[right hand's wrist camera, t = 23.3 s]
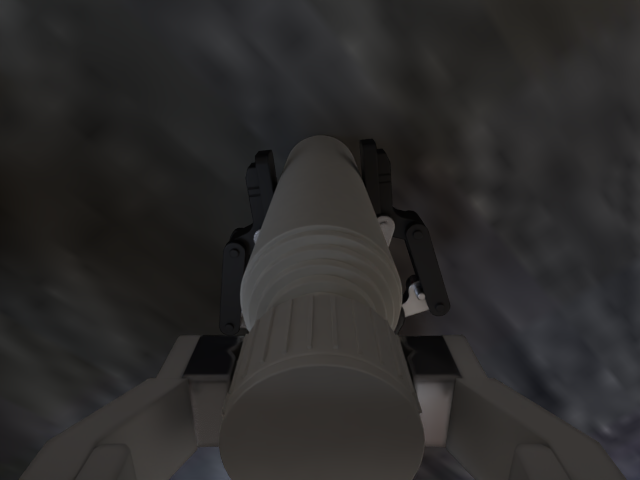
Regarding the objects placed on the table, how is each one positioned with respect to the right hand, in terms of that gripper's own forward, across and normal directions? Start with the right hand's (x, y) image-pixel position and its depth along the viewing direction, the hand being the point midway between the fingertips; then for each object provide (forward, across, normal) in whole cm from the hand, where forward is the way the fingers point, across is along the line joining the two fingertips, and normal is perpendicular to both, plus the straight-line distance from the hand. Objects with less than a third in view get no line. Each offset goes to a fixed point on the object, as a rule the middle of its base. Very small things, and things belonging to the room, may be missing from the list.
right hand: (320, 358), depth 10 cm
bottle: (+21, 0, 0) cm, 21 cm away
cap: (-2, 0, 0) cm, 2 cm away
